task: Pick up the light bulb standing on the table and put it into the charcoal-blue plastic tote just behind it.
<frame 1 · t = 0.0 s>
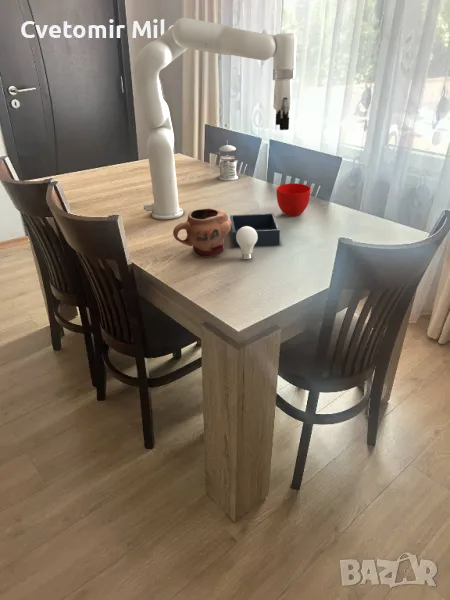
hand: (281, 127, 162), 31 cm above the table, tool pointing down, fingers open, 9 cm apart
light bulb: (246, 260, 141), on the table
brown clay mug: (204, 253, 146), on the table
french press: (226, 177, 218), on the table
tote: (254, 237, 155), on the table
ceramic cup: (293, 212, 175), on the table
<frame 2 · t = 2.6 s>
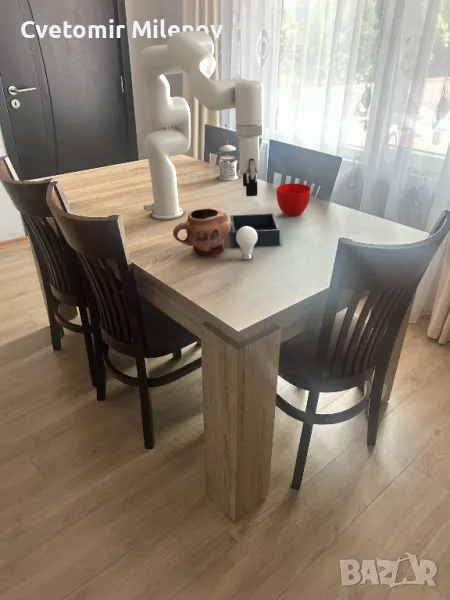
hand: (249, 190, 132), 21 cm above the table, tool pointing down, fingers open, 9 cm apart
nothing on the table moved.
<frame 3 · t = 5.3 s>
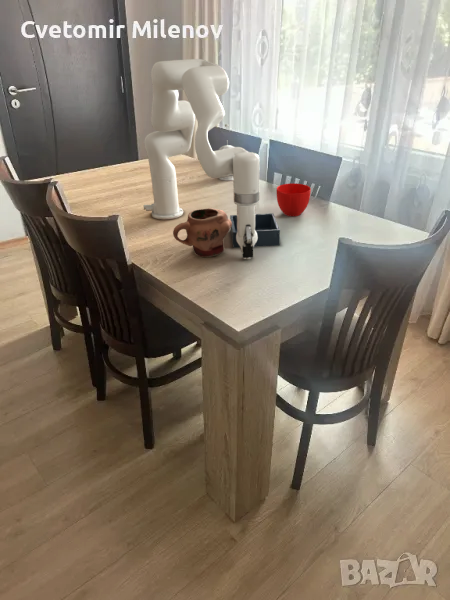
hand: (246, 251, 139), 3 cm above the table, tool pointing down, fingers closed on light bulb, 6 cm apart
light bulb: (246, 260, 141), on the table, touching gripper
everything else where it was.
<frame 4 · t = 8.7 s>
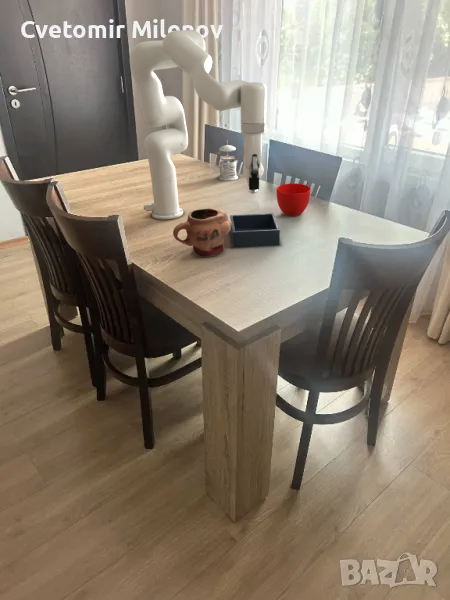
hand: (252, 185, 144), 19 cm above the table, tool pointing down, fingers closed on light bulb, 6 cm apart
light bulb: (253, 194, 145), point 16 cm above the table, touching gripper
everything else where it was.
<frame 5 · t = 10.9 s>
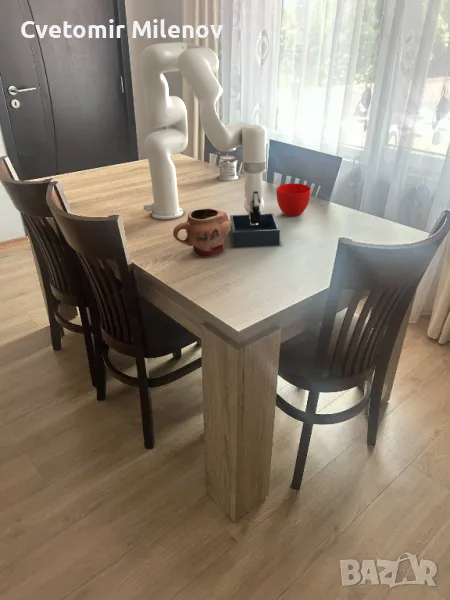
hand: (254, 218, 152), 7 cm above the table, tool pointing down, fingers closed on light bulb, 6 cm apart
light bulb: (254, 226, 153), point 4 cm above the table, touching gripper
everything else where it was.
when the fingers open (3 cm above the table, at t = 12.4 s): light bulb stays where it is, resting on tote.
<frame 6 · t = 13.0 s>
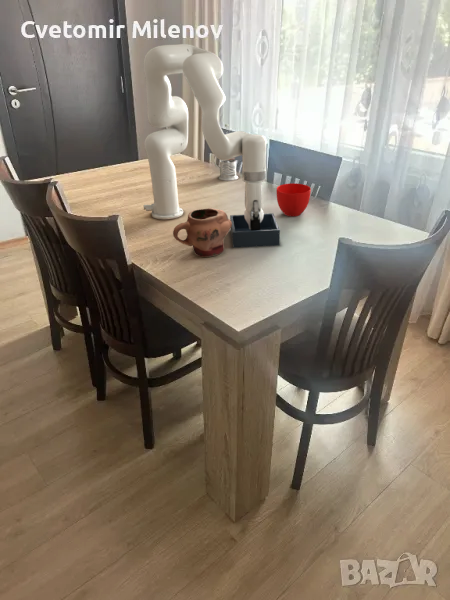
hand: (253, 224, 153), 5 cm above the table, tool pointing down, fingers open, 9 cm apart
light bulb: (253, 236, 155), resting on tote
everything else where it was.
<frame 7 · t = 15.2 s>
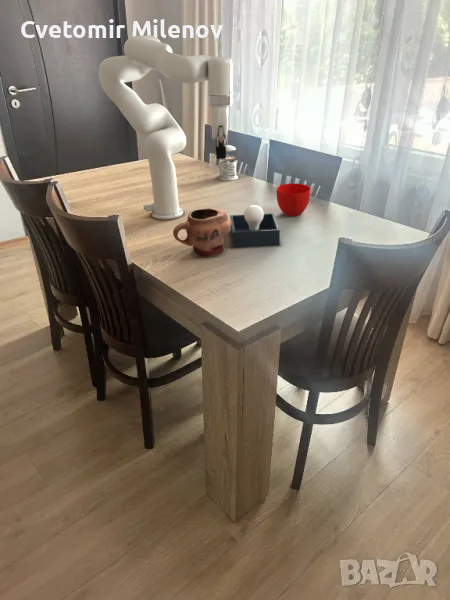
hand: (220, 154, 152), 26 cm above the table, tool pointing down, fingers open, 9 cm apart
nothing on the table moved.
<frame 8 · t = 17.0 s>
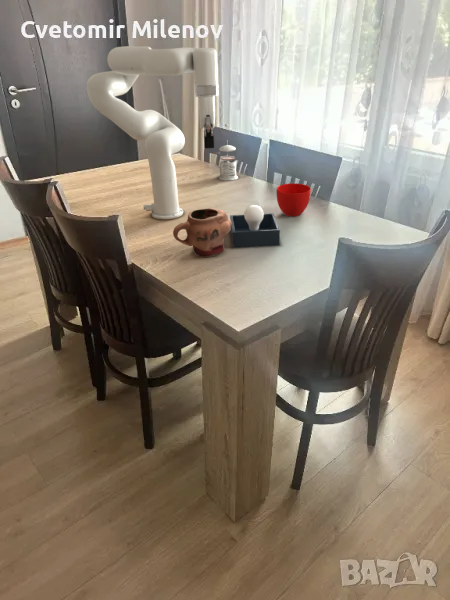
hand: (209, 144, 155), 28 cm above the table, tool pointing down, fingers open, 9 cm apart
nothing on the table moved.
at the end: light bulb inside the target area in the tote (0.0 cm from its centre), point 0.4 cm above the tote's base; the gripper is holding nothing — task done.
